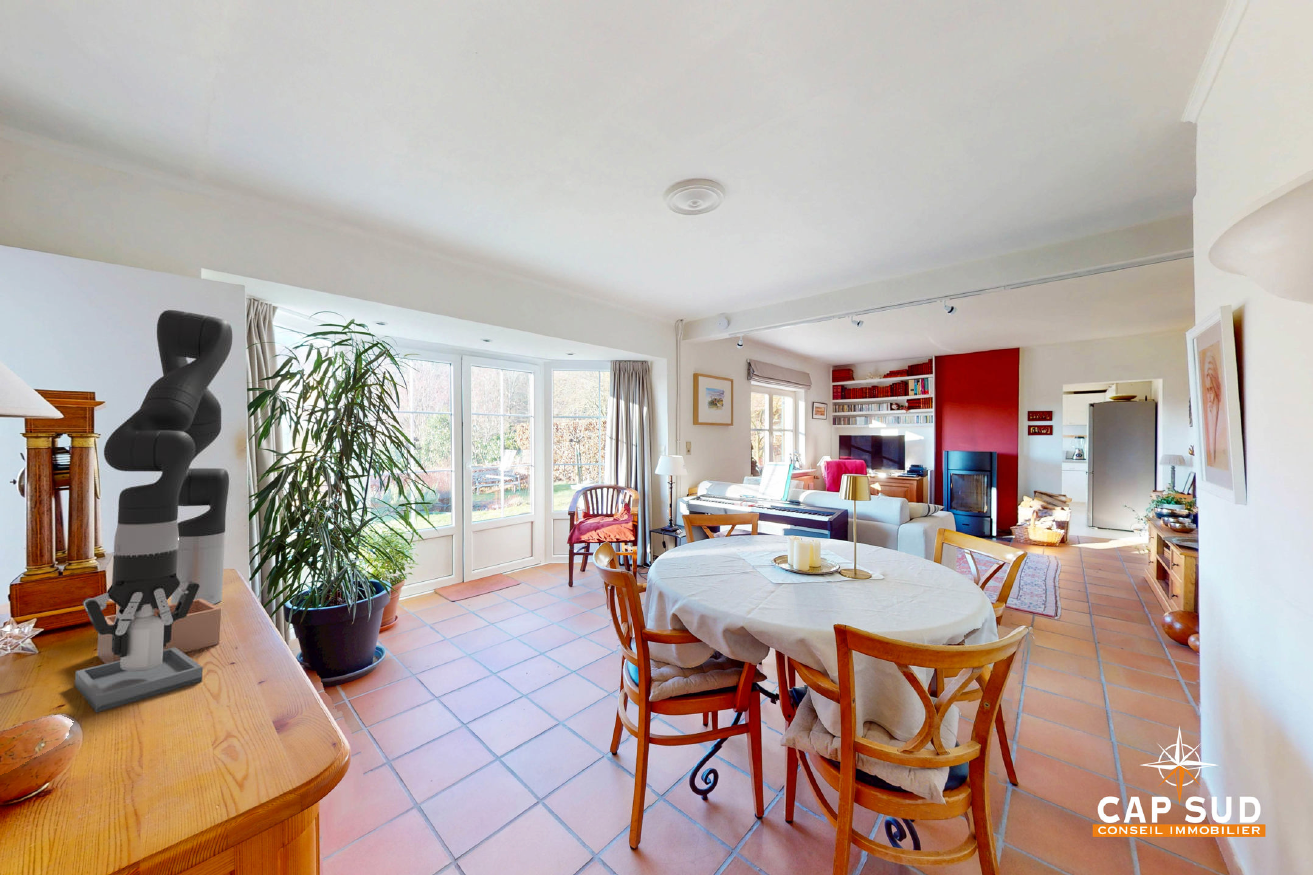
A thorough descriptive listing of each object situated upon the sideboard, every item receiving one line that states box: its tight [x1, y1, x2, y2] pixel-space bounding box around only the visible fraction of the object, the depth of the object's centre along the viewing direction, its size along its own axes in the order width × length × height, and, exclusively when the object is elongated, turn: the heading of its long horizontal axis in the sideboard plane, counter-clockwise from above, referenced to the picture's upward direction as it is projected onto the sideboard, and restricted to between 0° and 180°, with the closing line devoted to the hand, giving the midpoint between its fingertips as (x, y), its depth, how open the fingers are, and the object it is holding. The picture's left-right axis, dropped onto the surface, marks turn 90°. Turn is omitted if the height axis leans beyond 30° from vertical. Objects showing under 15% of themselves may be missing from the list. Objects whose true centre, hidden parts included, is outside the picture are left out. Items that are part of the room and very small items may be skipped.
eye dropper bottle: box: [120, 604, 164, 671], centre depth 82 cm, size 4×6×12 cm
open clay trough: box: [96, 599, 222, 664], centre depth 95 cm, size 11×15×7 cm
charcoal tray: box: [74, 647, 204, 714], centre depth 82 cm, size 14×12×2 cm
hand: (141, 650), depth 82 cm, fingers closed on eye dropper bottle, 4 cm apart
